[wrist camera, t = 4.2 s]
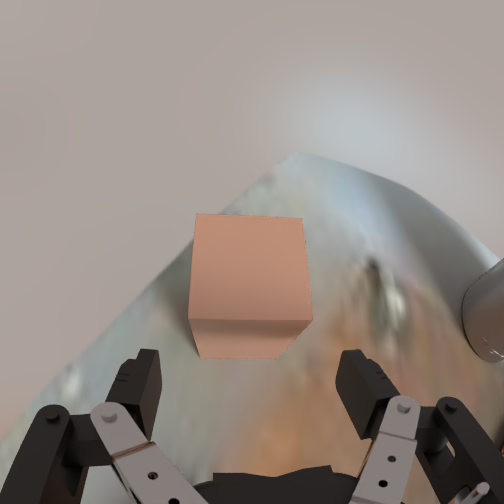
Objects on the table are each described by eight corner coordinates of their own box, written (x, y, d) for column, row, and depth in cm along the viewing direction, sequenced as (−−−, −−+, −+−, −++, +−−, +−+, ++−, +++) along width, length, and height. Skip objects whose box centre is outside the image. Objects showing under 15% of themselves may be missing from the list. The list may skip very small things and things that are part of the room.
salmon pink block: (203, 289, 24) (196, 213, 16) (272, 291, 25) (302, 218, 16) (200, 358, 22) (187, 317, 13) (275, 359, 22) (313, 319, 14)
